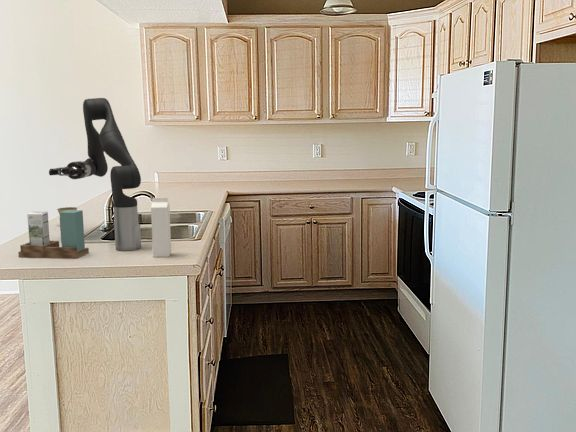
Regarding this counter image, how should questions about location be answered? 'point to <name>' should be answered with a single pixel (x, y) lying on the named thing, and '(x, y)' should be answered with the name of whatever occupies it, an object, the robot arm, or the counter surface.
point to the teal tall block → (72, 229)
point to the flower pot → (66, 209)
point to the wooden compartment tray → (50, 251)
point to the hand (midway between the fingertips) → (59, 172)
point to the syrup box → (38, 228)
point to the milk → (161, 227)
